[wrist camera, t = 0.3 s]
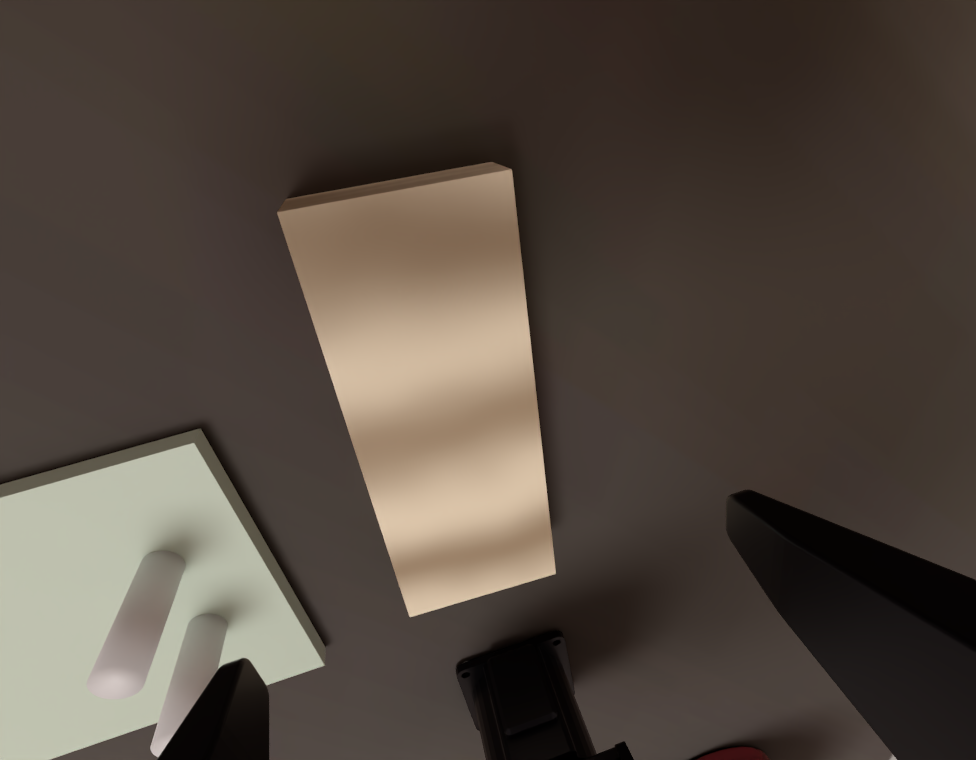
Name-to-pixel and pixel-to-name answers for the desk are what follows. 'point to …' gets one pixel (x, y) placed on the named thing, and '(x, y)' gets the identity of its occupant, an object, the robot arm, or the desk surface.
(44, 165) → the desk surface
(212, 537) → the peg plate
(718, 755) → the canister
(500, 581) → the shelf board
